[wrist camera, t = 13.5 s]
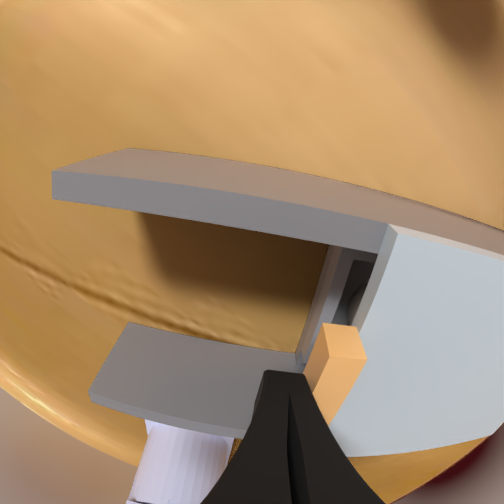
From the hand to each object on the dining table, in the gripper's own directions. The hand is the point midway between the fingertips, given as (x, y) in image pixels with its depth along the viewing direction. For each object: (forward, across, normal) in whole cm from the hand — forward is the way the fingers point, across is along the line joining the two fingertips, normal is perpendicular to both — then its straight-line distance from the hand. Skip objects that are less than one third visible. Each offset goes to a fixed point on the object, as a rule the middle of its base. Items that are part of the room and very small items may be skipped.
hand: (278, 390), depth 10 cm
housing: (+8, -4, 0) cm, 9 cm away
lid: (+1, -9, 0) cm, 9 cm away
